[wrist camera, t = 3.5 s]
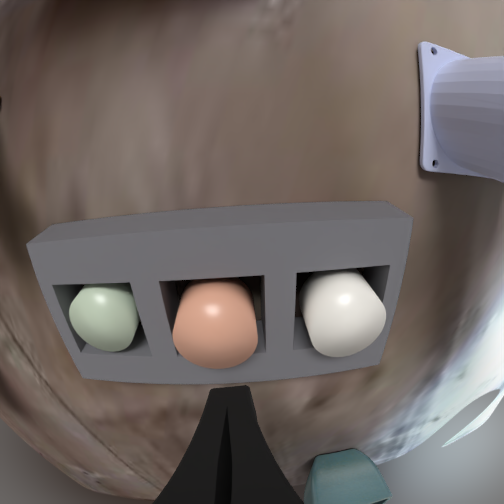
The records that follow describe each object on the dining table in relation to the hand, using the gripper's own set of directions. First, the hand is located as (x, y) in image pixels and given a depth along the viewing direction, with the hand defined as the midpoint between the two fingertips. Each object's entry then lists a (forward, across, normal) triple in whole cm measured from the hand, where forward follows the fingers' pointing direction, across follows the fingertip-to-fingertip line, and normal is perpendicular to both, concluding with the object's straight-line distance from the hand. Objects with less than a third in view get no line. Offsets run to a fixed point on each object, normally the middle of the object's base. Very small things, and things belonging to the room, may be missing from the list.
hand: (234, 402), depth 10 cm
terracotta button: (+7, +1, 0) cm, 7 cm away
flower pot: (+8, -7, +28) cm, 30 cm away
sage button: (+8, +7, -1) cm, 11 cm away
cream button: (+7, -6, +1) cm, 9 cm away
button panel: (+8, +1, 0) cm, 8 cm away
